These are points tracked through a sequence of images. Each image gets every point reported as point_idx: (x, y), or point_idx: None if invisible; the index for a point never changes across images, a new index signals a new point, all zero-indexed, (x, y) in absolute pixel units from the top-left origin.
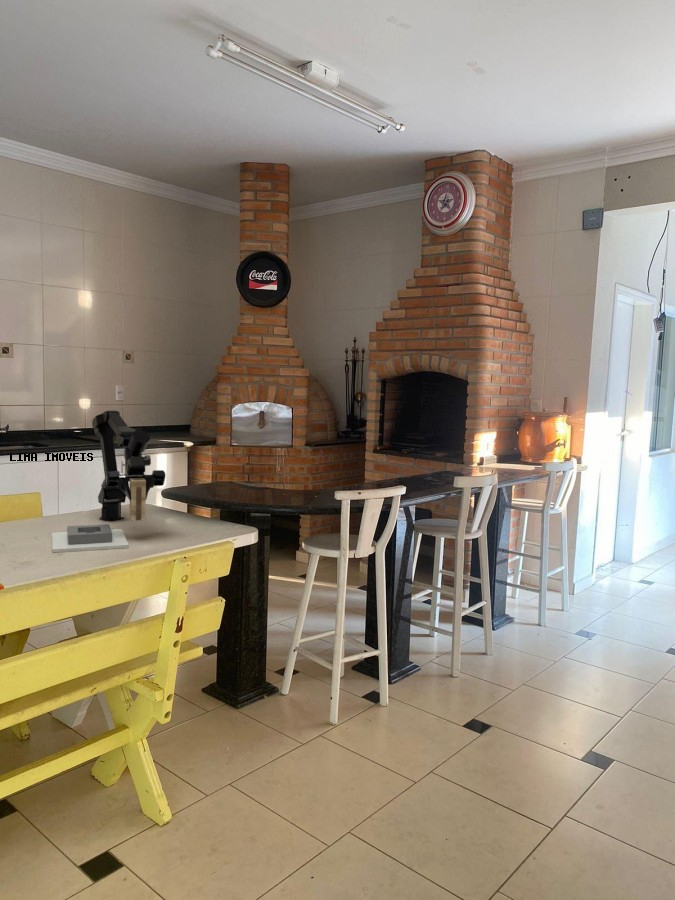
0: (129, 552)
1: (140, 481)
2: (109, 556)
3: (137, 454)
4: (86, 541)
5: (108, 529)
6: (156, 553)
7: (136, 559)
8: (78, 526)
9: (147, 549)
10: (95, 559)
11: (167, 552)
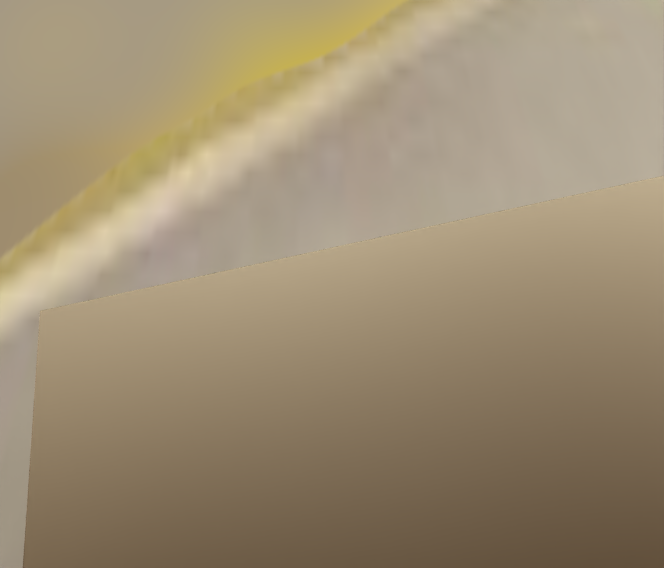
0: (433, 172)
1: (331, 277)
2: (536, 99)
3: None
4: None
5: None
6: (273, 152)
7: (377, 55)
8: None
9: (327, 233)
10: (600, 50)
11: (211, 170)
